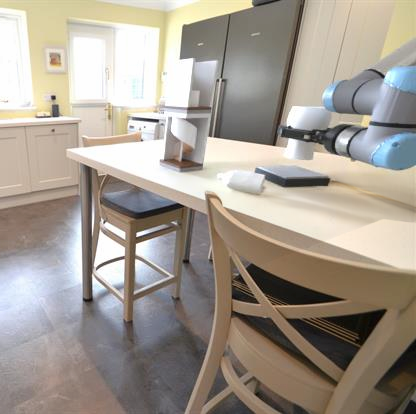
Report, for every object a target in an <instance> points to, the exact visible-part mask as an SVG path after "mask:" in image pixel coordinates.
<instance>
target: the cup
mask: <svg viewBox="0 0 416 414" xmlns="http://www.w3.org/2000/svg"><path fill="white" fill-rule="evenodd" d="M332 117H333V112H331V111H328V110H327V109H326V108H325V107H324V106H307V105H293V106H292V108H291V110H290V112H289V114H288V117H287V120H286V126H288V125H291V127H293V128H294V129H302V130H311V131H312V130H313V129H320V130H325V129H327V128H329V126H330V124H331V121H332ZM317 133H319V132H316V135H317ZM316 145H317V143H314V142H304V141H300V140H295V139H289V138H288V144H287V147H286V149H285V151H284V153H283V157H284V158H287V159H291V160H297V161H312V160H314V154H315V147H316Z"/></svg>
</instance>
